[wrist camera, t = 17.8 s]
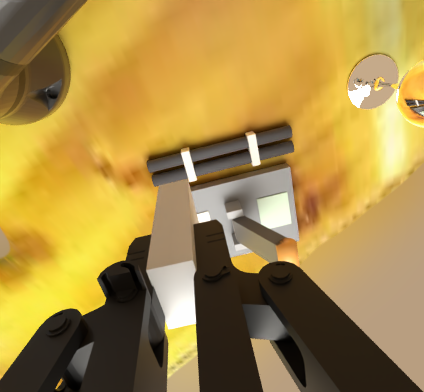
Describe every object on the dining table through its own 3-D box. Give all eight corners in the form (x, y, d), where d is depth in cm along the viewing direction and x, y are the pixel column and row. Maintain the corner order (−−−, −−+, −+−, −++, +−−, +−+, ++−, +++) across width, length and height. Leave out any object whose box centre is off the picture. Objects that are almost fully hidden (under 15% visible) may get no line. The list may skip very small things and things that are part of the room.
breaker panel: (188, 260, 54) (188, 279, 50) (165, 192, 48) (163, 207, 44) (295, 234, 54) (306, 251, 49) (286, 162, 48) (297, 174, 43)
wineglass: (409, 67, 43) (569, 75, 25) (377, 118, 46) (500, 157, 28) (366, 43, 42) (505, 32, 23) (335, 97, 44) (439, 125, 26)
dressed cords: (156, 185, 48) (155, 190, 46) (146, 157, 46) (145, 161, 44) (291, 152, 47) (295, 155, 45) (287, 122, 45) (291, 124, 43)
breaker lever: (231, 239, 49) (289, 278, 38) (226, 218, 47) (285, 253, 36) (243, 231, 50) (304, 267, 39) (239, 211, 48) (301, 243, 37)
